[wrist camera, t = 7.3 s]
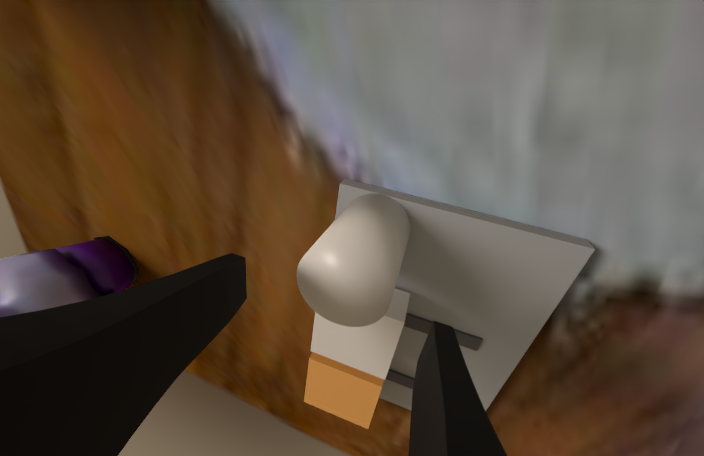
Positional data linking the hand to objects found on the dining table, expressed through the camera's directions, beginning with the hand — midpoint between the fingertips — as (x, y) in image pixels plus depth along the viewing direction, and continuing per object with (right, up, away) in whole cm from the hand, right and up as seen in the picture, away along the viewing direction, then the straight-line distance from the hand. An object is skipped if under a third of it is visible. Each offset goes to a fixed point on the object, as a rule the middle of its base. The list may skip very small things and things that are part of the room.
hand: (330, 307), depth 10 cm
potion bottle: (-22, 0, +18) cm, 28 cm away
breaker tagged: (+1, -8, +11) cm, 13 cm away
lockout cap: (+2, +3, +6) cm, 7 cm away
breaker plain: (+2, -3, +8) cm, 9 cm away
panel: (+5, -3, +9) cm, 11 cm away
